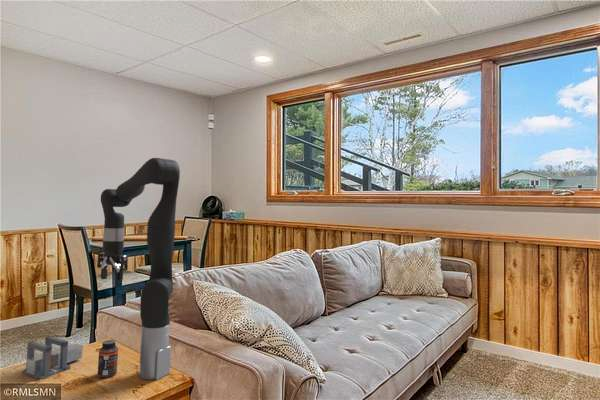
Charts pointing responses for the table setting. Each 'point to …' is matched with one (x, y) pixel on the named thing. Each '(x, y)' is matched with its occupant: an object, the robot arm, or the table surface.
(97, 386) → the table surface
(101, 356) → the supplement bottle
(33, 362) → the grey rectangular bar
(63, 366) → the collar stand
